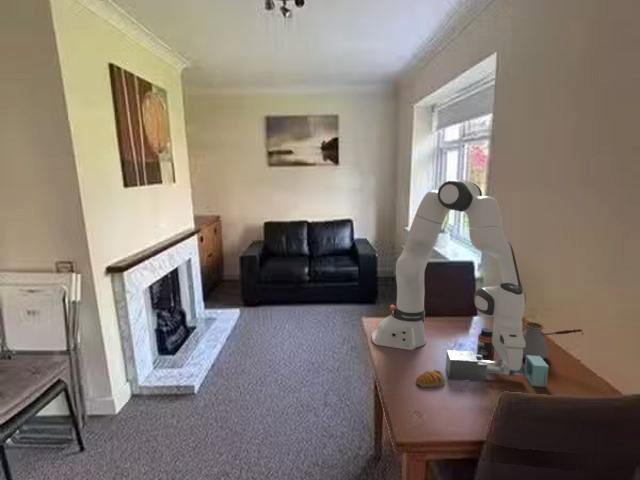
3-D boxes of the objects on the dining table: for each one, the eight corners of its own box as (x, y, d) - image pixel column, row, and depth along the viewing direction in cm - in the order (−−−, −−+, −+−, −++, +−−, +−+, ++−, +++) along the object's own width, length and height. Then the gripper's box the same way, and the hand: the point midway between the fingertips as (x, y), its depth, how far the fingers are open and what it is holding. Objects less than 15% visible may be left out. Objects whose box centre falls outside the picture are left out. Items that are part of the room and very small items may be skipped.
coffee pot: (511, 357, 151) (515, 320, 149) (517, 346, 160) (521, 312, 158) (577, 375, 139) (582, 335, 136) (579, 362, 148) (585, 324, 145)
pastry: (423, 391, 129) (424, 380, 129) (411, 381, 135) (411, 370, 135) (446, 385, 133) (447, 374, 132) (433, 375, 139) (434, 365, 138)
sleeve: (449, 379, 136) (450, 359, 134) (445, 369, 143) (446, 350, 142) (485, 382, 134) (487, 362, 133) (480, 371, 141) (481, 352, 140)
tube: (465, 375, 136) (466, 361, 135) (462, 367, 141) (463, 354, 140) (523, 379, 133) (525, 365, 132) (518, 371, 138) (519, 358, 137)
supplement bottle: (492, 355, 153) (495, 327, 151) (494, 362, 148) (496, 333, 146) (476, 352, 155) (478, 325, 153) (477, 359, 150) (479, 331, 148)
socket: (531, 385, 132) (534, 365, 131) (524, 374, 139) (526, 355, 138) (546, 386, 132) (548, 366, 130) (537, 375, 139) (539, 356, 137)
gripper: (489, 319, 144) (485, 354, 147) (506, 344, 124) (502, 384, 127) (507, 320, 143) (503, 355, 146) (527, 345, 123) (523, 385, 126)
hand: (503, 369), depth 136 cm, fingers closed on tube, 4 cm apart
